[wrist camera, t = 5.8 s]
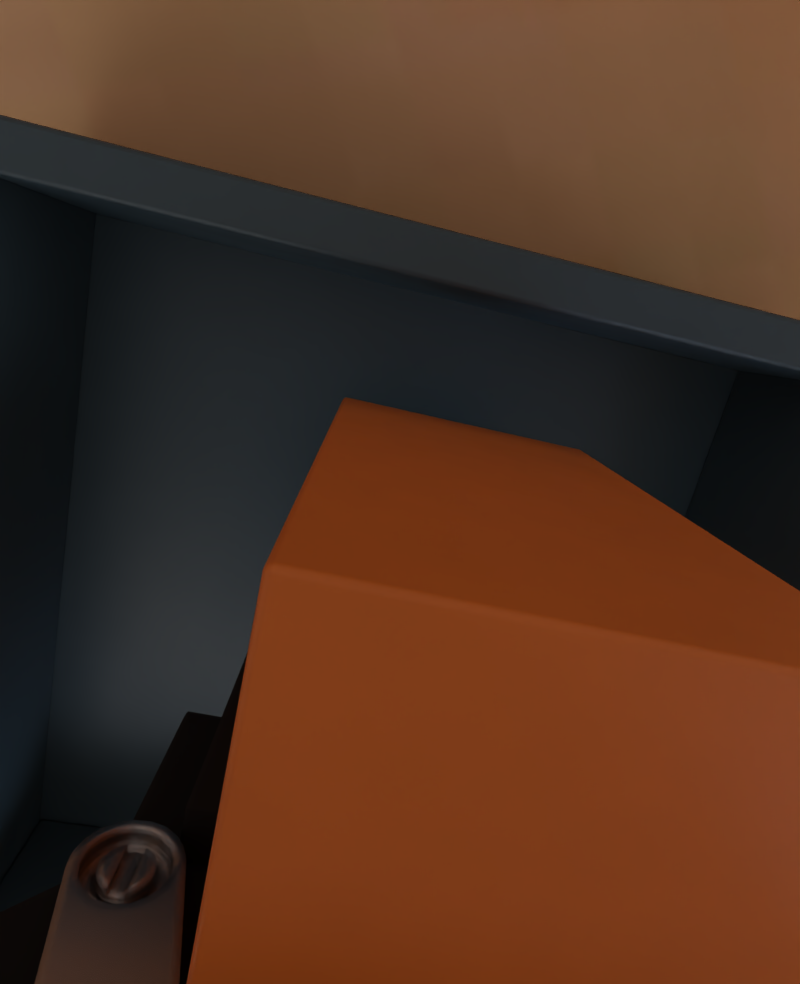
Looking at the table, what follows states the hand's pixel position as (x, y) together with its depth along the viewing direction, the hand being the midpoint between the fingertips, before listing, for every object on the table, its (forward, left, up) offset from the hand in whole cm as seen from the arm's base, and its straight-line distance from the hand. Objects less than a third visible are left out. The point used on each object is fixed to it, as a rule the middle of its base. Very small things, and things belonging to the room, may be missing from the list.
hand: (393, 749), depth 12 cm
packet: (0, 0, -1) cm, 1 cm away
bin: (+1, 0, -6) cm, 6 cm away
